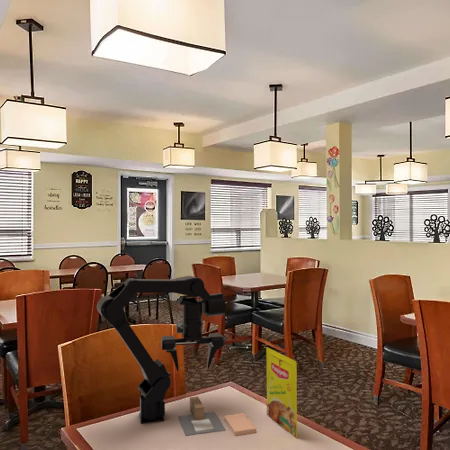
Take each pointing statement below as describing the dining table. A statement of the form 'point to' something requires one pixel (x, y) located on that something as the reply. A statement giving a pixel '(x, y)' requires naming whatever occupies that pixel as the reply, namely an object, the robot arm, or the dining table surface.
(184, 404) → the dining table surface
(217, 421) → the mat
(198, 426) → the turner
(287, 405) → the food package
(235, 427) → the tile
